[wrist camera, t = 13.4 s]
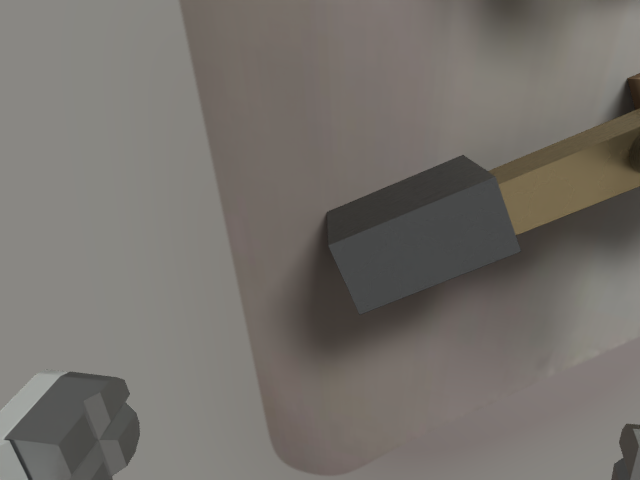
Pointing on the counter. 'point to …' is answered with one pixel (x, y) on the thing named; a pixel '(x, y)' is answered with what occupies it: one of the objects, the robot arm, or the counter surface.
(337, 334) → the counter surface
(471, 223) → the sleeve
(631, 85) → the socket
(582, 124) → the counter surface
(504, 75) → the counter surface
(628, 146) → the tan and black piece
